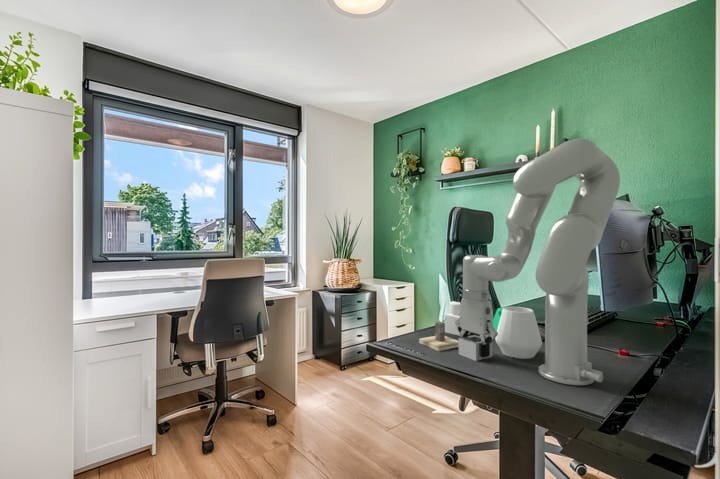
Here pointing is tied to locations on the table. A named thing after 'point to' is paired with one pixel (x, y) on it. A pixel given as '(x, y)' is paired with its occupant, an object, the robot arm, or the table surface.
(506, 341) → the cup
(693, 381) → the table surface
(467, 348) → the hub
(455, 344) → the post block
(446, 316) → the medicine bottle
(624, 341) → the table surface
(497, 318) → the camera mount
